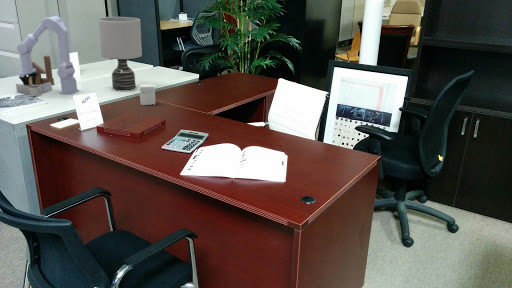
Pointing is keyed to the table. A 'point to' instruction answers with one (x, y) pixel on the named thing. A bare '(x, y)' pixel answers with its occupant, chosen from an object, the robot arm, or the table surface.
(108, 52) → the lamp
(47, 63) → the brown wooden frame
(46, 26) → the robot arm
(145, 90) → the small box
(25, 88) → the steel hinge
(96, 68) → the table surface
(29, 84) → the hinge pin
